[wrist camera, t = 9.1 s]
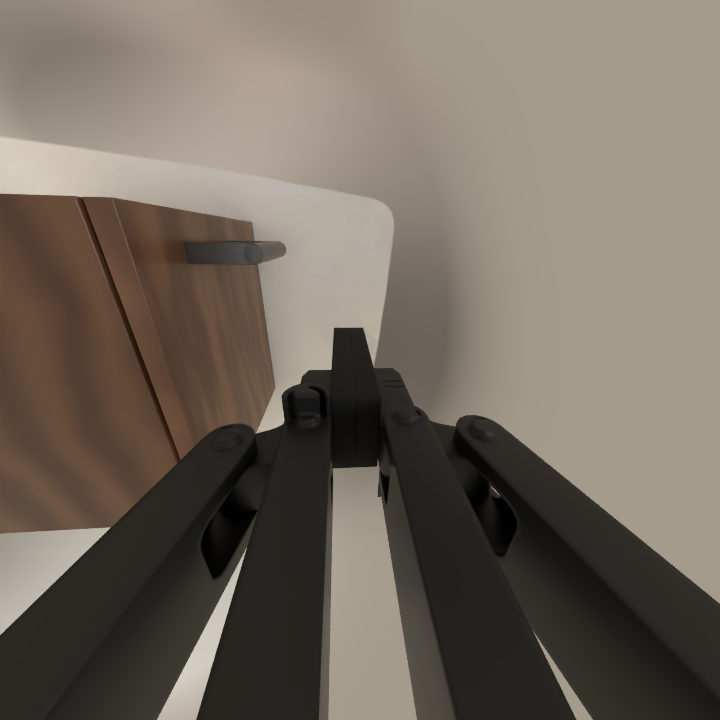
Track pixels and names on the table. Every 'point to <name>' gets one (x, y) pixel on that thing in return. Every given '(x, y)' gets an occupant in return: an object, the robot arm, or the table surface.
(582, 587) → the robot arm
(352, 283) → the table surface
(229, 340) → the door
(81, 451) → the cupboard
